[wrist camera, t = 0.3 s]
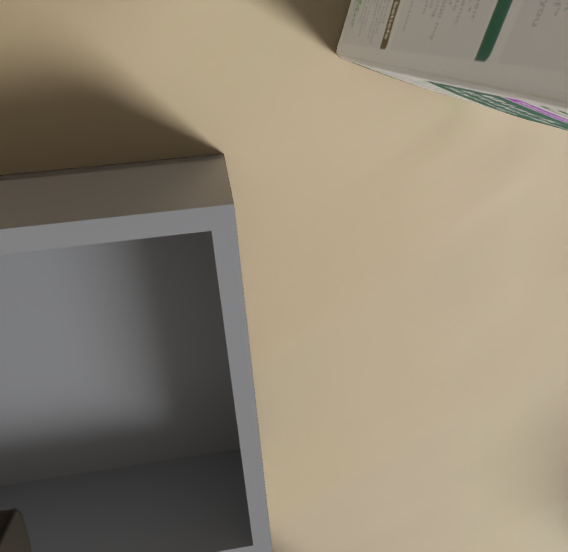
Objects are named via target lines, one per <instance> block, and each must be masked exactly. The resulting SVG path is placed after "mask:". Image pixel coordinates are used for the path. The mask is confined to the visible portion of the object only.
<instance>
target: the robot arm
mask: <svg viewBox="0 0 568 552" xmlns="http://www.w3.org/2000/svg"><path fill="white" fill-rule="evenodd" d="M0 552H32V550H31V544H30V540H29V537H28V533H27V530H26V526H25V523H24V519H23V516H22V513H21V511H20V510H19V509H17V508H7V509H0Z"/></svg>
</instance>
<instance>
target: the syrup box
mask: <svg viewBox="0 0 568 552" xmlns="http://www.w3.org/2000/svg"><path fill="white" fill-rule="evenodd" d="M336 53H337V55H338V56H339V57H340V58H342V59H344V60H347V61H349V62H352V63H355V64H358V65H360V66H363V67H365V68H368V69H371V70H373V71H376V72H379V73H382V74H385V75H387V76H390V77H392V78H395V79H399V80H401V81H404V82H407V83H410V84H413V85H416V86H419V87H422V88H426V89H429V90H432V91H435V92H438V93H442V94H445V95H448V96H452V97H455V98H458V99H462V100H466V101H469V102H472V103H475V104H478V105H482V106H485V107H488V108H491V109H494V110H498V111H501V112H504V113H507V114H511V115H514V116H517V117H520V118H523V119H527V120H530V121H535V122H539V123H542V124H546V125H550V126H553V127H557V128H561V129H564V130H568V0H351V3H350V7H349V10H348V13H347V16H346V20H345V23H344V27H343V30H342V33H341V37H340V40H339V43H338V46H337V51H336Z"/></svg>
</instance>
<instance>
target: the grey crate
mask: <svg viewBox="0 0 568 552" xmlns="http://www.w3.org/2000/svg"><path fill="white" fill-rule="evenodd" d="M7 508H17V509H19V510H20V511H21V513H22V516H23V519H24V523H25V526H26V530H27V533H28V537H29V540H30V544H31V550H32V552H272V544H271V535H270V526H269V517H268V508H267V499H266V490H265V481H264V472H263V463H262V454H261V445H260V436H259V426H258V417H257V408H256V399H255V390H254V381H253V372H252V363H251V354H250V345H249V336H248V327H247V318H246V309H245V300H244V291H243V282H242V273H241V264H240V255H239V246H238V236H237V227H236V218H235V209H234V202H233V197H232V192H231V187H230V182H229V177H228V172H227V167H226V162H225V157H224V154H215V155H205V156H194V157H184V158H174V159H164V160H154V161H144V162H134V163H124V164H113V165H103V166H93V167H83V168H73V169H63V170H53V171H43V172H32V173H22V174H12V175H2V176H0V509H7Z"/></svg>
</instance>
